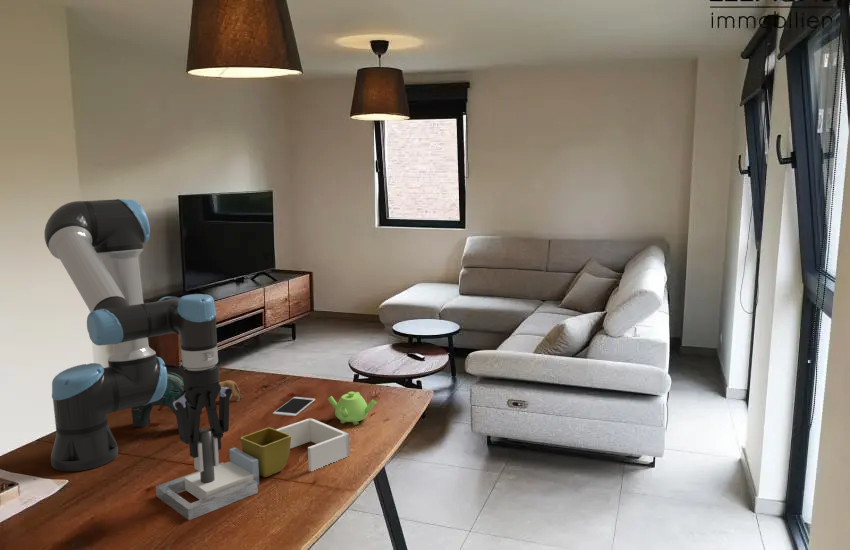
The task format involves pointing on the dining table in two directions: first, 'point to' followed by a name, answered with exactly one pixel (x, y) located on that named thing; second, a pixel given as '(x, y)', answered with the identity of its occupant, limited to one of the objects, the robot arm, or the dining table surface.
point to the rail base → (205, 505)
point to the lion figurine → (232, 388)
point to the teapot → (351, 407)
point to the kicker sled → (220, 470)
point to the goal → (319, 441)
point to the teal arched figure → (161, 401)
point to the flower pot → (268, 449)
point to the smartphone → (294, 406)
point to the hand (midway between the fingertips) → (206, 466)
